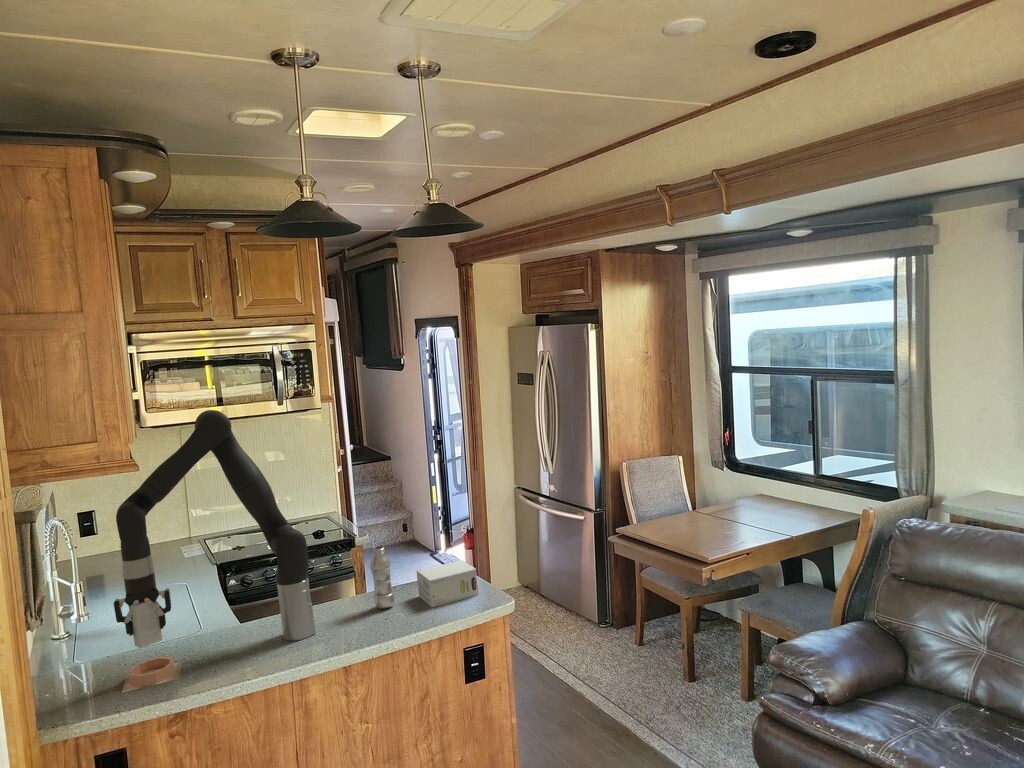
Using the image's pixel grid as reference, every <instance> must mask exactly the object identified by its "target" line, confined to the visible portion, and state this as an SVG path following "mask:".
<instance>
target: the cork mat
mask: <svg viewBox="0 0 1024 768" xmlns="http://www.w3.org/2000/svg"><path fill="white" fill-rule="evenodd" d="M174 666H175V671H174V674H173V675H171V676H170V677H169V678H168V679H165V680H163V681H161V682H159V683H156V684H152V685H148V686H137V687H135V686H133V685H131V684H130V681H129V673H128V674H127V675H126V677H125V681H124V683H123V687H122V691H121V693H127V692H131V691H134V690H139V689H143V688H147V687H152V686H154V685H160V684H163V683H166V682H167V683H168V682H171V681H176V680H179V679H180V675H181V668H182V661H179V662H174Z"/></svg>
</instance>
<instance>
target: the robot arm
mask: <svg viewBox="0 0 1024 768" xmlns="http://www.w3.org/2000/svg"><path fill="white" fill-rule="evenodd" d="M209 452H211V453H212V454H213V455H214V456H215V459H216V460H217V462H218V463H219V465H220V467H221V470H222V472H223V474H224V476H225V478H226V479H227V482H228V483H229V485H230V486H231V489H232V491H234V493H235V495H236V496H237V498H238V500H239V501H240V502H241V503H242V505H243V506H244V508H245V510H246V511H247V513H249V515H251V517H252V518H253V519H254V520H255V522H256V523H257V525H258V526H259V528H260V530H261V532H262V534H263V536H264V537H265V540H266V542H267V544H268V547H269V548H270V550H271V552H272V553H273V554H275V556H276V562H277V572H276V574H275V578H276V580H275V581H276V587H277V588H276V589H277V595H278V603H279V610H280V611H279V612H280V618H281V619H280V620H281V627H282V636H283V639H284V640H285V639H286V641H289V640H290V641H291V642H292V640H293V641H300V640H304V639H306V638H309V637H310V636H313V635H317V634H316V625H315V618H314V617H315V616H314V609H313V603H312V599H311V590H310V581H309V573H308V572H309V567H310V566H309V554H308V553H309V552H308V551H309V550H308V544H307V543H308V542H307V540H306V537H305V535H304V534H303V533H302V532H301V531H299V530H298V529H296V528H294V527H293V526H292V525H291V524H290V522H289V521H288V520H287V519H286V518H285V516H284V515H283V514H282V512H281V511H280V508H279V506H278V504H277V501H276V498H275V495H274V493H273V490H272V488H271V485H270V484H269V482H268V481H267V479H266V477H265V475H264V474H263V472H262V471H261V469H260V468H259V467H258V466H257V464H256V463H255V462H254V460H253V459H252V458H251V457H250V456H249V455H248V454H247V453H246V451H245V450H244V449H243V447H241V444H239V441H238V440H237V439H236V436H235V435H234V433H233V430H232V422H231V420H230V418H229V417H228V416H227V415H226V414H224V413H223V412H222V411H219V410H216V409H209V410H208V409H207V410H204V411H201V413H199V415H198V416H197V417H196V419H195V421H194V430H193V432H192V433H191V435H190V436H189V437H188V439H187V440H186V441H185V442H184V443H183V444H182V445H181V446H180V447H179V448H178V449H177V450H176V451H175V452H174V453H173V454H171V455H170V456H169V457H168V458H167V459H165V460H164V461H163V462H162V463H161V464H159V465H158V466H157V467H156V468H155V469H154V470H153V472H152V473H151V474H150V475H149V476H147V478H146V479H145V480H144V482H143V483H142V484H141V485H140V486H139V487H138V488H137V489H136V490H135V491H134V492H132V494H130V495H129V496H128V497H127V498H126V499H125V500H124V501H123V502H122V503H121V504H120V506H119V507H118V508H117V511H116V514H115V522H116V527H117V532H118V536H119V539H120V540H119V541H120V552H121V561H122V567H121V568H122V578H123V583H124V589H125V590H124V591H125V597H124V598H116V599H114V601H113V608H114V614H115V620H116V623H123V624H124V625H125V631H126V633H125V634H126V635H129V637H131V636H132V637H133V630H132V624H131V617H132V615H133V611H132V607H131V605H136V604H138V603H142V602H146V603H147V604H148V605H149V606H150V607H151V608H152V609H153V610H154V611H156V612H157V613H158V614H159V622H160V629H161V630H162V629H164V627H165V626H166V624H167V619H166V614H167V613H169V612H171V610H172V600H171V590H170V588H165V589H163V590H158V587H157V582H156V575H155V568H154V561H153V558H152V552H151V546H150V541H149V537H148V531H147V522H146V521H147V520H146V516H147V515H148V514H149V513H150V511H152V510H153V508H154V507H155V506H156V505H157V504H158V503H160V502H162V501H163V500H164V499H165V498H166V497H167V496H168V495H169V494H170V493H171V492H172V490H174V488H175V487H176V486H177V485H178V484H179V483H180V482H181V481H182V480H183V478H184V477H185V476H186V475H187V474H188V473H189V472H190V470H192V468H193V467H194V466H196V464H197V463H198V462H200V461H201V459H203V458H204V457H205V456H206V455H207V454H208V453H209ZM159 596H161V598H162V599H164V603H165V607H162V605H161V604H160V603H159V602H158V600H157V599H158V598H159ZM156 600H157V605H156V604H155V601H156ZM125 603H126V605H127V606H128V607H129V606H130V607H131V609H130V610H128V612H127V613H126V615H123V611H122V608H123V606H124V604H125Z"/></svg>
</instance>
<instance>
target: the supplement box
mask: <svg viewBox="0 0 1024 768" xmlns="http://www.w3.org/2000/svg"><path fill="white" fill-rule="evenodd" d="M416 578H417V579H416V581H417V589H418V596H419V597H420V599H422V600H423V601H424V602H425V603H426V604H427V605H428V606H429V607H430V608H434V607H435V608H436V607H438V606H442V605H446V604H449V603H453V602H457V601H460V600H465V599H468V598H469V599H470V598H472V597H476V596H479V588H478V587H479V586H478V577H477V569H476V568H475V567H474V566H472V565H470V563H467V562H466V561H464V560H462V559H459V560H456V561H451V562H447V563H444V564H440V565H435V566H431V567H426V568H422V569H417V570H416Z"/></svg>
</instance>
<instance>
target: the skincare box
mask: <svg viewBox="0 0 1024 768" xmlns="http://www.w3.org/2000/svg"><path fill="white" fill-rule="evenodd" d="M157 602H158V600H156V601H155V604H156V605H157ZM131 607H132V611H133V615H132V617H131V619H130V620H131V624H132V630H133V635H132V637H133V643H134V646H135V647H137V648H140V649H144V648H146V647H148V646H150V645H153V644H156V643H159V642H160V641H163V634H162V629H160V622H159V614H158V613H157V612H156V611H154V610H153V609H152V608H151V607H150V606H149V605H148V604H147V603H146V602H142V603H138V604H136V605H131ZM131 607H130V606H129V605H128V609H129V610H130V609H131ZM129 610H128V611H129Z"/></svg>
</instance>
